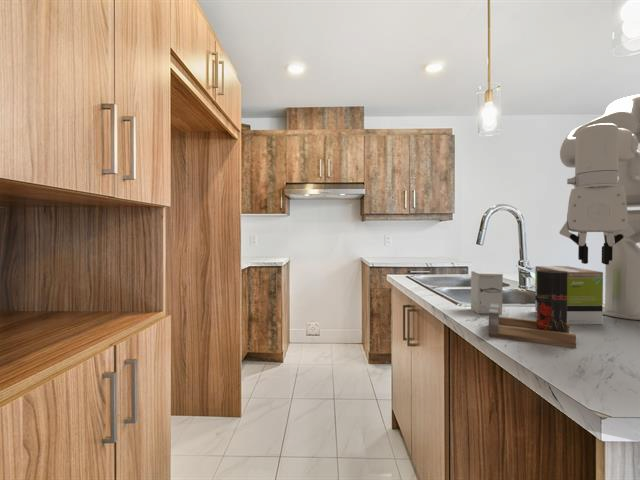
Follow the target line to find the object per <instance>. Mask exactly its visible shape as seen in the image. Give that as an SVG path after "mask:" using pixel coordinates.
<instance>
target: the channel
mask: <svg viewBox="0 0 640 480" xmlns="http://www.w3.org/2000/svg"><path fill="white" fill-rule="evenodd" d="M536 322H537V319H528V318H520V317H519V318H516V317H508V316H502V315H501V316H500V314H499V304H492V303H491V305H490V309H489V314H488V337H490V338H497V339H498V338H499V339H504V340H505V339H507V340H512V341H521V342H527V343H528V342H529V343H535V344H544V345H550V346H557V347H564V348H565V347H566V348H571V349H572V348H573V349H577V335H576V333H572V332H571V333H570V324H567V333H564V332H555V331H547V330H538V329H536Z"/></svg>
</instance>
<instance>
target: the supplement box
mask: <svg viewBox="0 0 640 480" xmlns="http://www.w3.org/2000/svg"><path fill="white" fill-rule="evenodd" d="M503 277H504V274H503V273H500V272H498V271H481V270H475V271H474V270H471V273H470V279H471V281H470V283H471V284H470V287H471V288H470V309H471V310H472V311H473V312H475V313H476V314H477V315H478V314H485V315H487V314H488V315H489V309H490V305H491V303H492V304H499V316H500V315H501V316H502V315H503V284H504V283H503V279H504V278H503Z"/></svg>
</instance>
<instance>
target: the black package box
mask: <svg viewBox="0 0 640 480" xmlns="http://www.w3.org/2000/svg"><path fill="white" fill-rule="evenodd" d="M567 273H568V272H564V271H553V270H538V271H537V311H536V320H537V322H536V329H538V330H547V331H555V332H564V333H567Z"/></svg>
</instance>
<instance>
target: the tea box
mask: <svg viewBox="0 0 640 480" xmlns="http://www.w3.org/2000/svg"><path fill="white" fill-rule="evenodd" d="M538 270H553V271H564V272H568V273H567V324H569V325H603V315H604V314H603V313H602V310H603V307H604V306H603V304H604V303H603V300H604V299H603V298H604V295H603V293H604V292H603V291H604V272H603V271H598V270H591V269H585V268H580V267H574V266H568V265H543V266H542V265H541V266H540V265H539V266H537V265H536V266H535V271H534V272H535V287H534V288H535V292H534V294H535V295H534V296H535V299H534V301H535V303H534V304H535V312H537V271H538Z"/></svg>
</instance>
